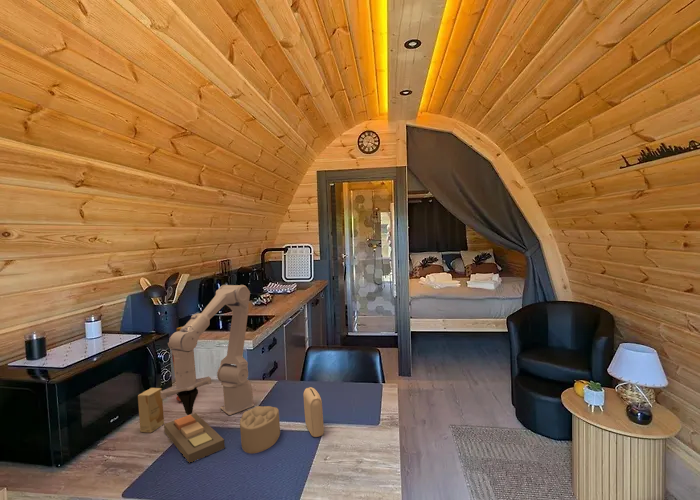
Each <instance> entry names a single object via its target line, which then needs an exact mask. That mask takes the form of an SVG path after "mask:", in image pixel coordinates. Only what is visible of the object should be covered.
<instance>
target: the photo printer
mask: <svg viewBox="0 0 700 500" xmlns="http://www.w3.org/2000/svg"><path fill="white" fill-rule="evenodd" d="M302 397H303V407H304V421H305V425H306V429H307V430H308V431H309V433H310V435H311V436H312V437H314V438H317V437H321V436H323V435H324V433H325V426H324V415H323V414H324V412H323V402H322V398H321V396H320V393H319V392H318V391H317V390H316V388H314V387H312V386H309V387H306V388H305V389H304V391H303V395H302Z"/></svg>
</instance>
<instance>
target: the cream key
mask: <svg viewBox="0 0 700 500" xmlns="http://www.w3.org/2000/svg"><path fill="white" fill-rule="evenodd" d="M202 432H204V428H203V426H201V425H200V424H199V423H198V422H196V423H193V424H191V425H188V426H185V427H182V428H181V434H182V435H183V436H184V437H185V438H186V439H187V438H189V437H192V436H194V435H197V434H199V433H202Z"/></svg>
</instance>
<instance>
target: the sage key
mask: <svg viewBox="0 0 700 500" xmlns="http://www.w3.org/2000/svg"><path fill="white" fill-rule="evenodd" d="M210 441H212V438H211V437H210V436H209V435H208V434H207V433H204V434H202V435H199V436H197V437H194V438H192V439H189V443H190V444H191V445H192V446H193V448H196V447H198V446H200V445H203V444H205V443H208V442H210Z"/></svg>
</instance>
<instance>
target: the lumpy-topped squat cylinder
mask: <svg viewBox="0 0 700 500" xmlns="http://www.w3.org/2000/svg"><path fill="white" fill-rule="evenodd" d="M239 429H240V431H239V432H240V441H241V443H240V444H241V448H242V451H243V452H245V453H246V454H252V455H253V454H258V453H261V452H264V451H266V450H268V449H270V448H271V447H273V445H275V444H276V443H277V441H278V439H279V438H280V435H281V425H280V410H279V409H278V407H276V406H271V405H266V406H265V405H264V406H259V405H256V406H254V407H253V408H252V407H251V409H250V408H249V409H247V410H246V411H244V412H243V414H242V416H241V418H240V419H239Z"/></svg>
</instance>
